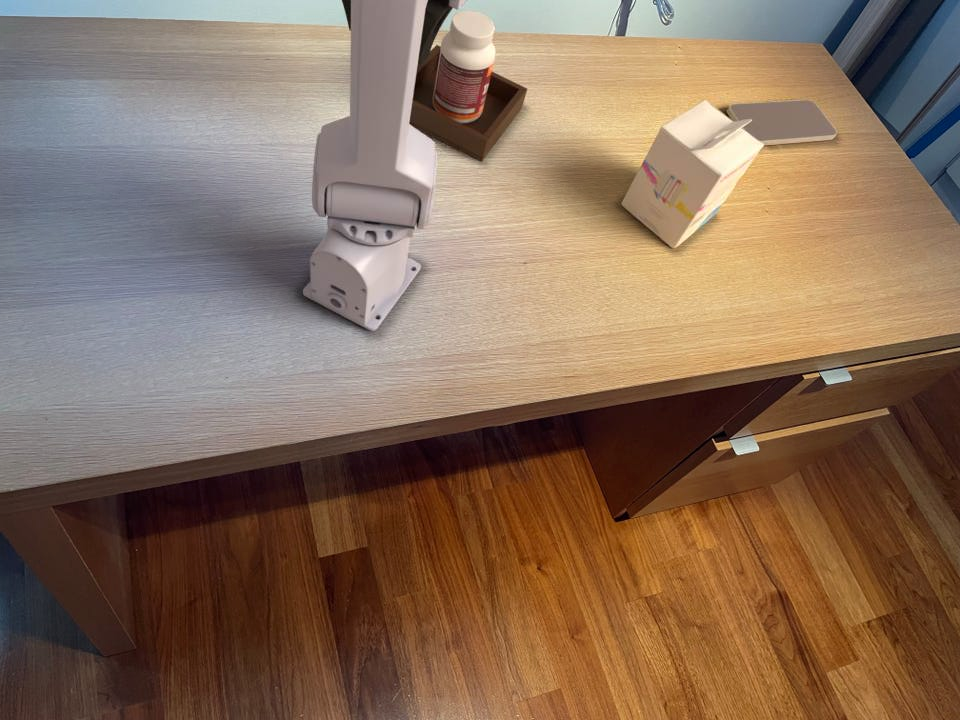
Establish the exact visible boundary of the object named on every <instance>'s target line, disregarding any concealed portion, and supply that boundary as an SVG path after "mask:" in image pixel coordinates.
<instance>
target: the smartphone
mask: <svg viewBox="0 0 960 720" xmlns="http://www.w3.org/2000/svg"><path fill="white" fill-rule="evenodd" d="M726 113H727V115H728V118H729V119H731V120H732V121H733V122H735V121H741V120H746V119H752V121H751V122H749V123H748V124H747V125H745V126H744V127H742V129H744V130H745V131H746V132H748V133H749V134H750V135H752V136H753V137H755V138H756V139H757V140H759V141H760V142H761V143H763V144H764V146H772V145H773V146H774V145H786V144H797V143H798V144H799V143H809V142H820V141H832V140H834V138H835V137H836V136H837V134H838V131H837V129H836V127H835V126H834V125H833V124H832V122H831V121H830V120H829V119H828V118H827V116H826V114H824V112H823V111H822V110H821V108H820V107H819V106H818V105H817V104H816V102H815V101H813V100H811V99H793V100H791V99H790V100H775V101H773V100H772V101H761V102H760V101H759V102H758V101H757V102H756V101H755V102H741V103H740V102H739V103H731V104H730V105H729V107H728V108H727V110H726Z"/></svg>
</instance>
